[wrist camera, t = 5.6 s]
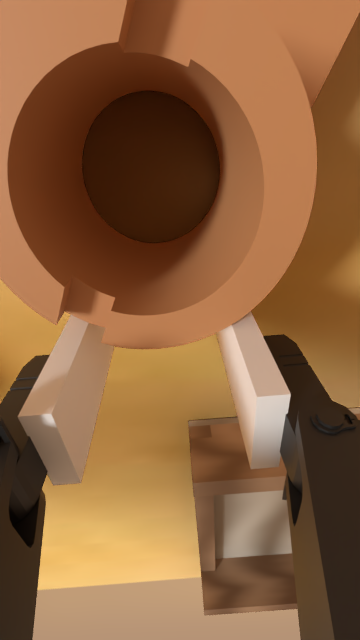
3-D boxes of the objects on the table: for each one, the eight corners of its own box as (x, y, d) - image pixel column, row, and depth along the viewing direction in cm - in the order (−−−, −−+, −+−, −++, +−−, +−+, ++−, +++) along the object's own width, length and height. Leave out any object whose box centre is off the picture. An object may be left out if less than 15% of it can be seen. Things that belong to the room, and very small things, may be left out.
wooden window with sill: (200, 560, 34) (204, 615, 30) (188, 420, 21) (192, 483, 18) (353, 549, 33) (377, 603, 30) (428, 402, 21) (485, 461, 17)
